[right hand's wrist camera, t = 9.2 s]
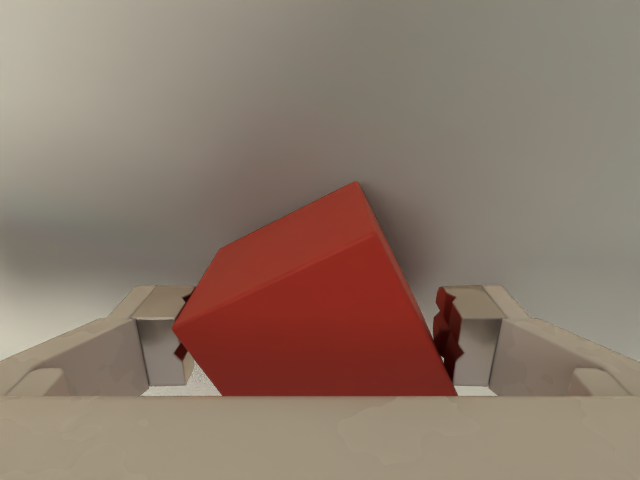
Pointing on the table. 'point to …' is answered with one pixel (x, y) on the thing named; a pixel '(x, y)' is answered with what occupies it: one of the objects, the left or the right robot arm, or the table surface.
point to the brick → (312, 311)
